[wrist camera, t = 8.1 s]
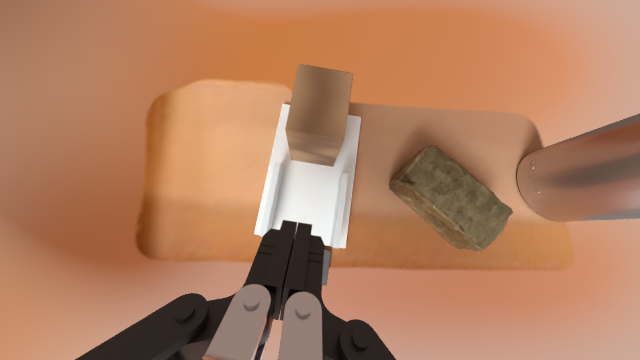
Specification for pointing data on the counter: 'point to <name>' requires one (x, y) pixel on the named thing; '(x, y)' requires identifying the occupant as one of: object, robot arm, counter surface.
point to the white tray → (310, 190)
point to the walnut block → (318, 114)
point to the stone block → (451, 200)
